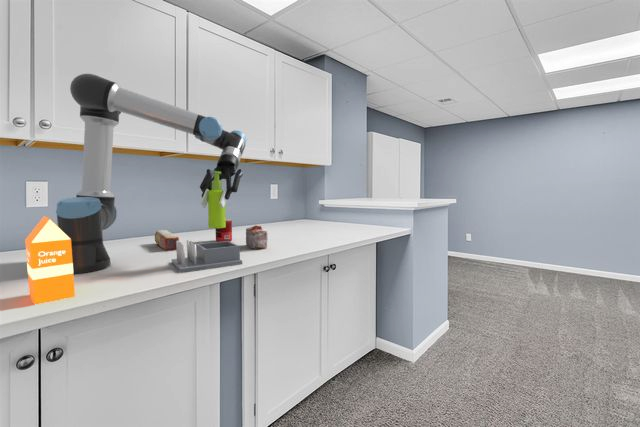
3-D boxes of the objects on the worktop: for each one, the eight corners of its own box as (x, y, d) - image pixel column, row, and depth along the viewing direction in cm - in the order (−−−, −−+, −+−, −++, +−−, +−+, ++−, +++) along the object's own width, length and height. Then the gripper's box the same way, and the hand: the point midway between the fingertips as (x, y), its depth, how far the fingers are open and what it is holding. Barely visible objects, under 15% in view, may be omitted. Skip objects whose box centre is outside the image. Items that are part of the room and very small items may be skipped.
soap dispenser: (210, 229, 110) (209, 170, 108) (207, 226, 116) (206, 171, 114) (227, 228, 112) (227, 171, 110) (223, 225, 119) (223, 171, 117)
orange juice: (34, 305, 74) (27, 219, 72) (29, 296, 79) (22, 217, 78) (75, 296, 79) (70, 217, 78) (68, 288, 85) (62, 214, 83)
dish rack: (180, 272, 101) (179, 247, 100) (171, 262, 114) (170, 240, 113) (242, 264, 112) (241, 241, 111) (227, 255, 125) (227, 235, 125)
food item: (270, 249, 139) (269, 226, 138) (252, 250, 135) (251, 227, 134) (259, 243, 151) (259, 223, 150) (243, 245, 147) (242, 224, 146)
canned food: (234, 239, 161) (234, 218, 160) (228, 242, 153) (227, 220, 152) (219, 239, 162) (219, 218, 161) (213, 242, 154) (212, 219, 153)
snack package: (180, 250, 136) (180, 234, 136) (163, 252, 132) (163, 236, 132) (169, 242, 153) (169, 229, 153) (154, 244, 149) (154, 230, 149)
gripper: (254, 167, 126) (241, 212, 112) (209, 168, 128) (190, 211, 114) (250, 153, 121) (235, 198, 106) (202, 153, 123) (181, 197, 108)
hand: (212, 205), depth 110 cm, fingers closed on soap dispenser, 6 cm apart
